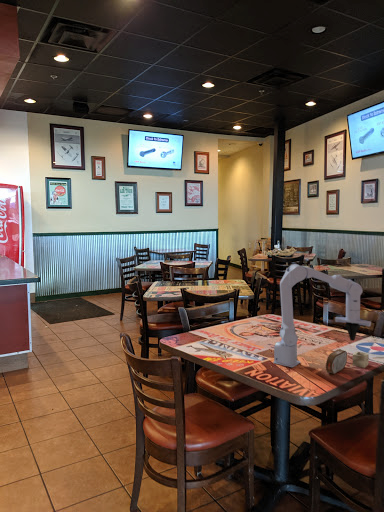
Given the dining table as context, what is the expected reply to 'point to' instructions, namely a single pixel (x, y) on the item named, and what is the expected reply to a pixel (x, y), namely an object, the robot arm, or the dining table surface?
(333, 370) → the tin
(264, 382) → the dining table surface
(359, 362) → the letter cube
